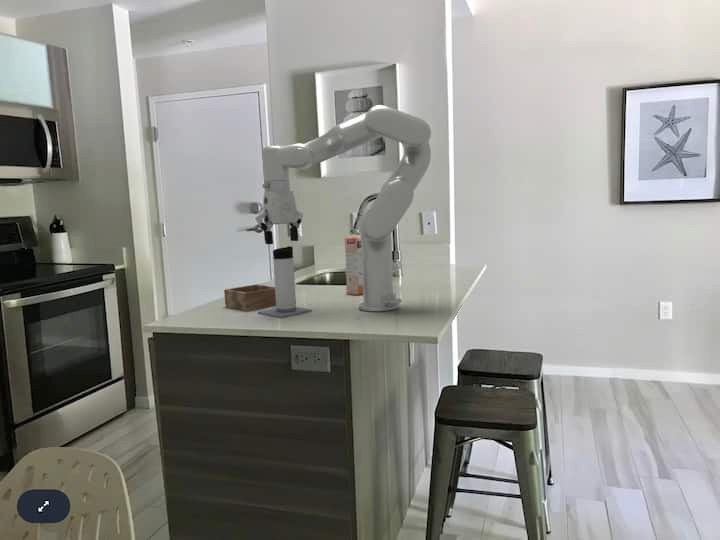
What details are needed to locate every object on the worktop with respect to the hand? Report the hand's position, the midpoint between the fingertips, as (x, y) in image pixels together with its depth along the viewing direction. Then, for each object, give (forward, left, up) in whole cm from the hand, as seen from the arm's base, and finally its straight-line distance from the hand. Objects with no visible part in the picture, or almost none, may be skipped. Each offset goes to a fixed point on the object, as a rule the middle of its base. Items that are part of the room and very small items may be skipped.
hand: (282, 242), depth 180 cm
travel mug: (0, 0, -22) cm, 22 cm away
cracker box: (+5, -40, -22) cm, 46 cm away
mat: (0, 0, -22) cm, 22 cm away
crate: (+18, 0, -22) cm, 29 cm away
